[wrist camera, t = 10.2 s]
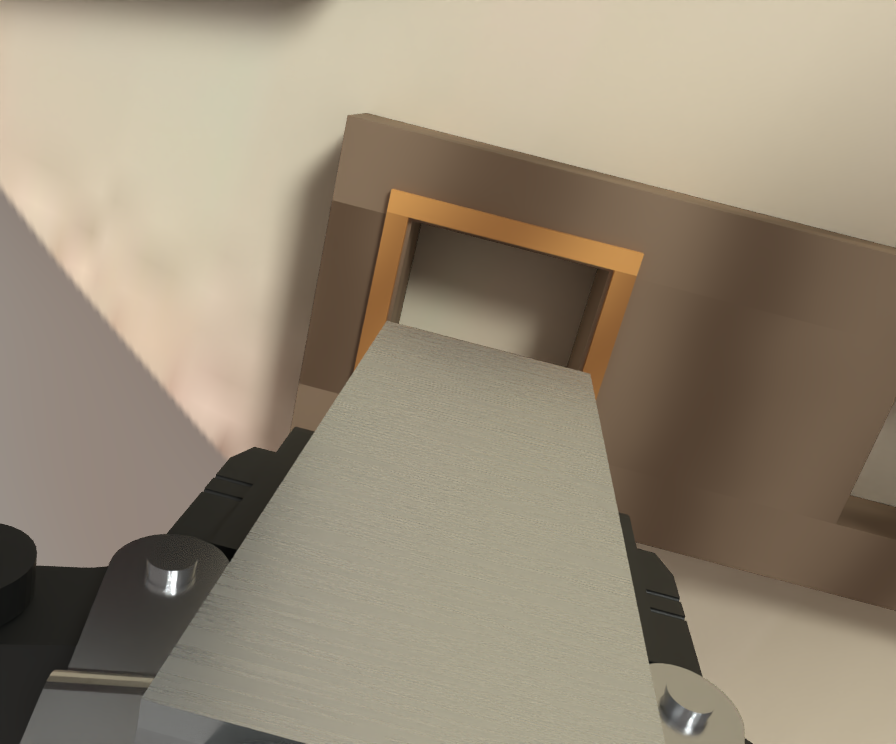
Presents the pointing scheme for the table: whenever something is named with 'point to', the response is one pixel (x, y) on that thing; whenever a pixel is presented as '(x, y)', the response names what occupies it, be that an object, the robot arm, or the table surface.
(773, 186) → the table surface
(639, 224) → the hole board
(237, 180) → the table surface
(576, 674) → the steel peg
